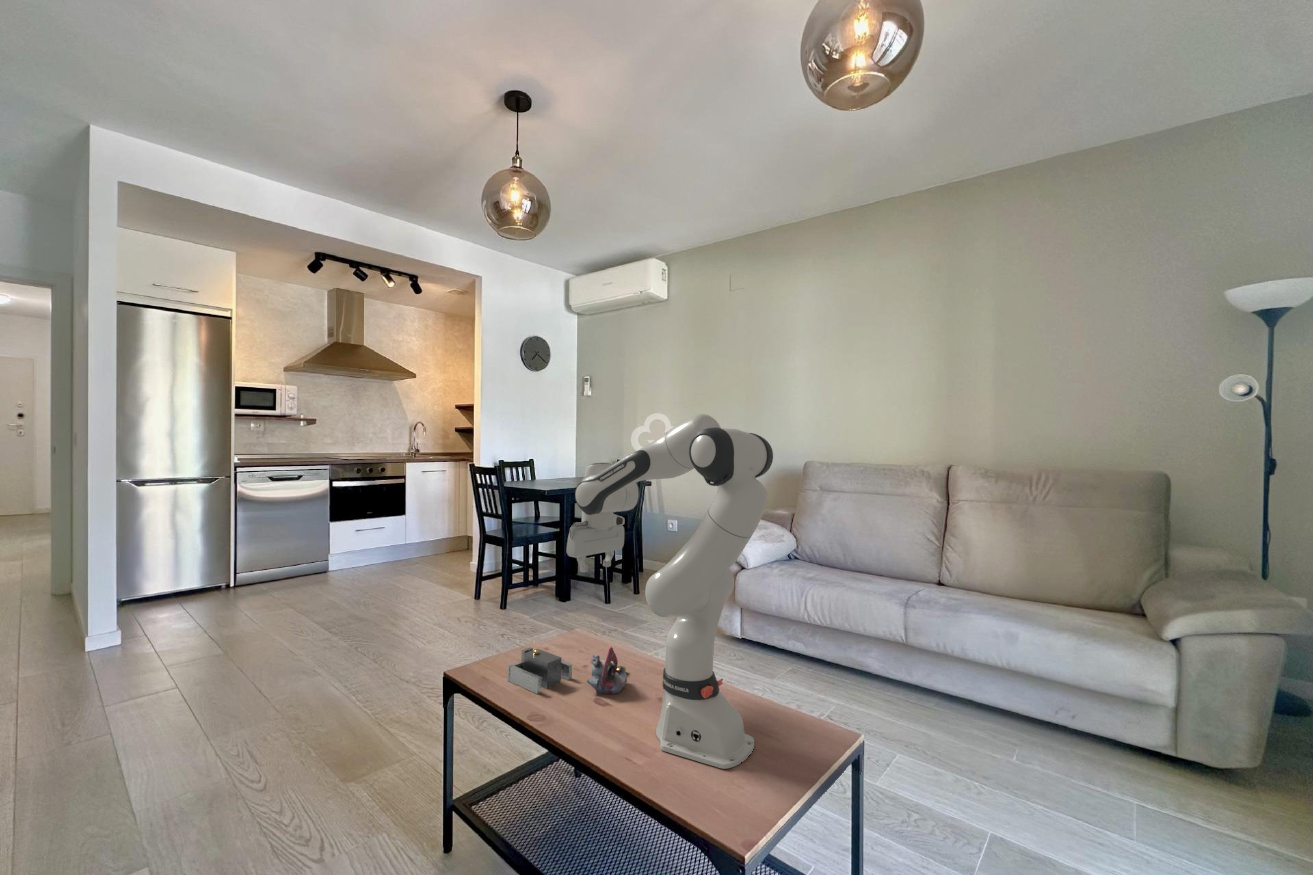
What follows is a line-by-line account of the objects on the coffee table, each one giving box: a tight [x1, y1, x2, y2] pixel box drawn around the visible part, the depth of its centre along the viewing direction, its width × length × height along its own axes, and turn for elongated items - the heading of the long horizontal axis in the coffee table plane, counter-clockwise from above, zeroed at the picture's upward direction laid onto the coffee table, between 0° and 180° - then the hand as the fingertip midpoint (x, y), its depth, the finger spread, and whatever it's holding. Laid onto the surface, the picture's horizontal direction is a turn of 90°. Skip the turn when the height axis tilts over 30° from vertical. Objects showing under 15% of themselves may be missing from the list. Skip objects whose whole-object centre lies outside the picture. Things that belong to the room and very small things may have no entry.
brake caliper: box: [586, 646, 628, 695], centre depth 144 cm, size 11×11×12 cm
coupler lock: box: [523, 648, 563, 690], centre depth 146 cm, size 10×5×8 cm, turn 53°
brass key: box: [617, 665, 627, 673], centre depth 153 cm, size 7×3×2 cm, turn 78°
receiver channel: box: [506, 646, 573, 695], centre depth 147 cm, size 13×12×7 cm
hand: (595, 569), depth 148 cm, fingers open, 8 cm apart
